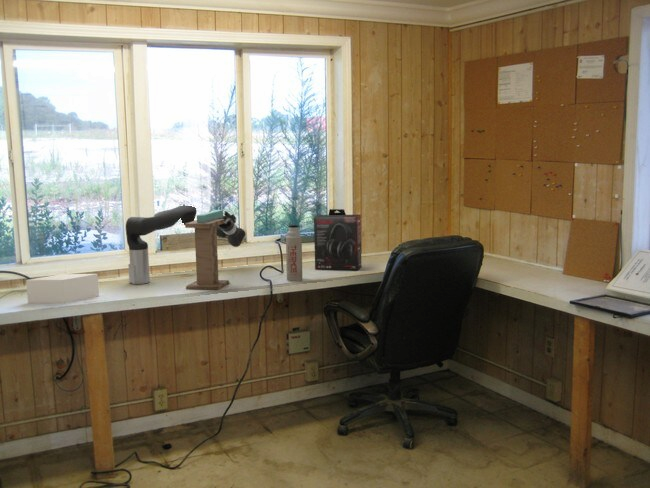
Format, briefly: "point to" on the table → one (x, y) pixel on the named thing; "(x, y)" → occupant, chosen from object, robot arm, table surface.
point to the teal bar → (209, 216)
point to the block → (62, 288)
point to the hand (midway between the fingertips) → (217, 212)
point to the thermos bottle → (294, 254)
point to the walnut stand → (206, 255)
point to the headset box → (337, 241)
